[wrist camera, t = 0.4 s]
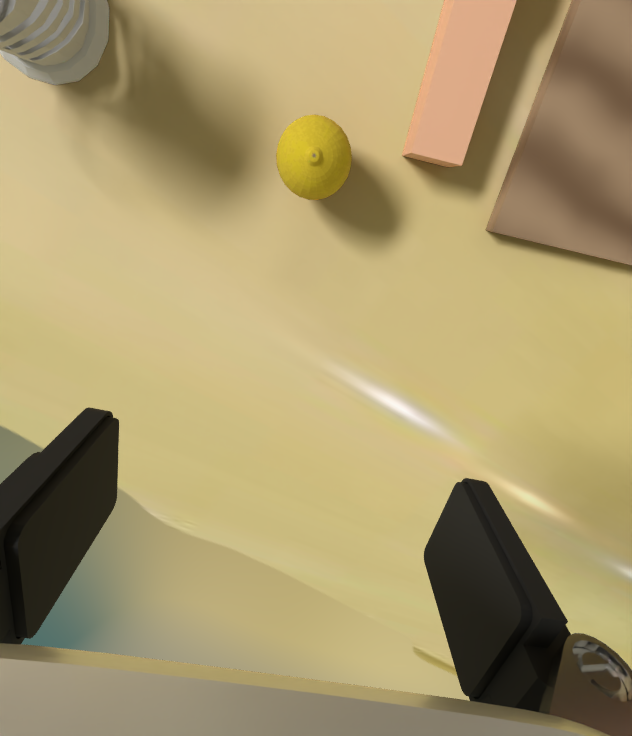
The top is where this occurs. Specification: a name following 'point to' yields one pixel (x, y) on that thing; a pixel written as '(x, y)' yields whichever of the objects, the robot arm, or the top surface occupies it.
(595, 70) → the walnut plate
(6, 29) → the french press
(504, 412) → the top surface
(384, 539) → the top surface
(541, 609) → the robot arm
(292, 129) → the lemon
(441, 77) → the link
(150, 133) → the top surface
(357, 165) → the top surface
